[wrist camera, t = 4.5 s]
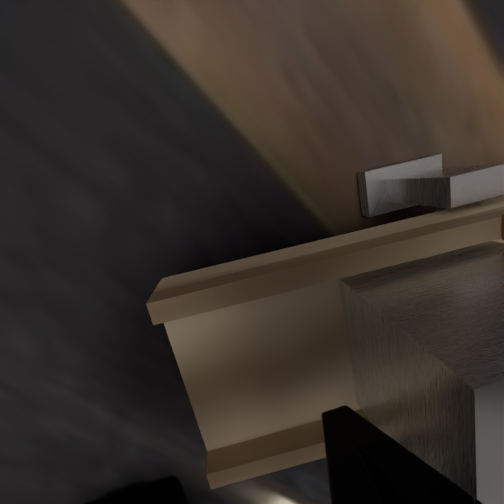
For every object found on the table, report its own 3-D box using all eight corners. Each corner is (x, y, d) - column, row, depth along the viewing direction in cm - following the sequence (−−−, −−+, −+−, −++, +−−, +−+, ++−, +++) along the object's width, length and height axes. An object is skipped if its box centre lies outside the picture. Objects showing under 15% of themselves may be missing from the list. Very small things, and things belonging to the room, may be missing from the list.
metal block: (484, 366, 12) (712, 525, 7) (357, 402, 12) (479, 600, 6) (483, 239, 11) (776, 302, 5) (337, 277, 11) (474, 389, 5)
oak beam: (665, 300, 16) (787, 333, 12) (213, 422, 14) (211, 495, 11) (695, 143, 13) (853, 130, 10) (165, 271, 12) (143, 305, 9)
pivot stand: (439, 347, 19) (518, 402, 14) (379, 365, 18) (439, 429, 14) (430, 155, 16) (528, 142, 11) (356, 172, 15) (425, 167, 10)
